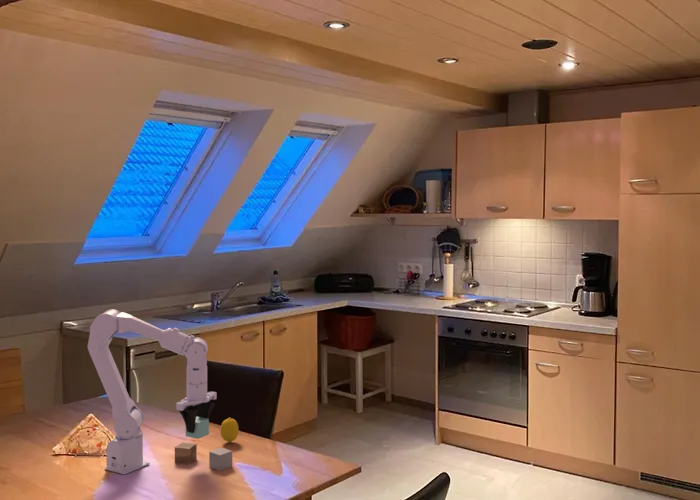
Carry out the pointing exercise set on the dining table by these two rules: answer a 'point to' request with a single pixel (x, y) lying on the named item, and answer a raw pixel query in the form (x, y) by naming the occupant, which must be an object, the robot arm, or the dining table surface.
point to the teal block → (199, 428)
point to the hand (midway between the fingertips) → (197, 429)
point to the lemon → (229, 430)
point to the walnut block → (185, 453)
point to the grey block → (220, 459)
